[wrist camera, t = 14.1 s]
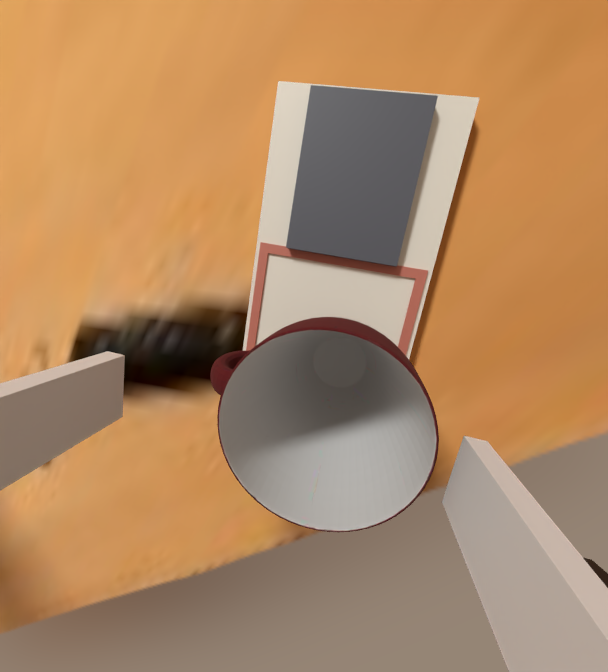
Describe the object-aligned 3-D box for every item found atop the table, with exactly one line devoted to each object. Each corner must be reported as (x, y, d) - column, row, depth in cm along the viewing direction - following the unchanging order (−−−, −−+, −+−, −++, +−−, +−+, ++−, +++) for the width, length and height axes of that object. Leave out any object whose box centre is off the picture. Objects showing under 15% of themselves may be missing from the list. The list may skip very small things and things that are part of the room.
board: (238, 425, 24) (227, 438, 22) (283, 93, 19) (274, 71, 17) (377, 463, 22) (379, 480, 20) (471, 110, 17) (485, 88, 15)
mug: (253, 409, 22) (169, 509, 12) (247, 302, 20) (147, 323, 11) (397, 419, 20) (432, 549, 10) (403, 302, 18) (449, 327, 9)
